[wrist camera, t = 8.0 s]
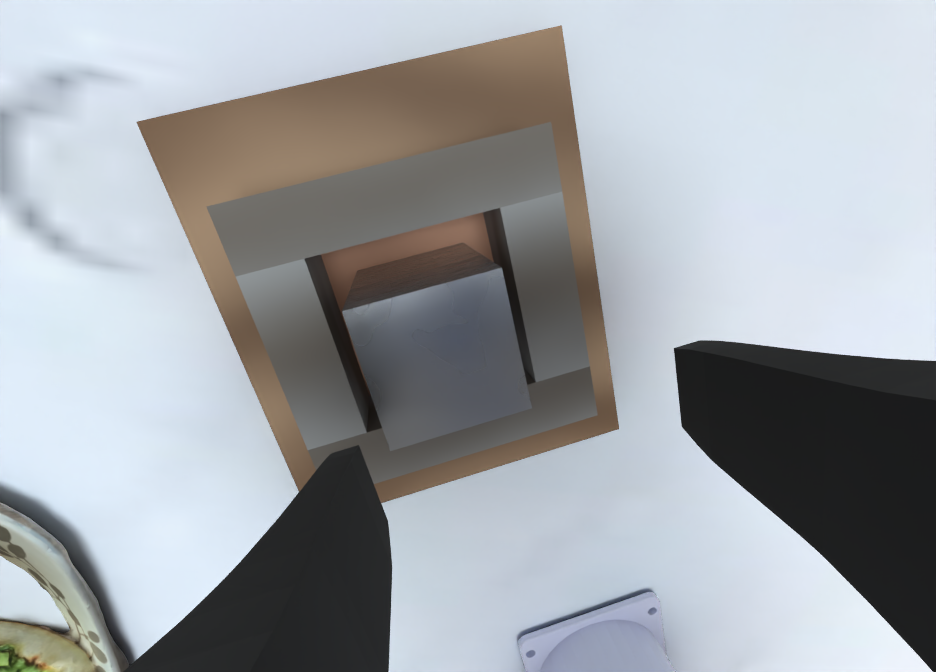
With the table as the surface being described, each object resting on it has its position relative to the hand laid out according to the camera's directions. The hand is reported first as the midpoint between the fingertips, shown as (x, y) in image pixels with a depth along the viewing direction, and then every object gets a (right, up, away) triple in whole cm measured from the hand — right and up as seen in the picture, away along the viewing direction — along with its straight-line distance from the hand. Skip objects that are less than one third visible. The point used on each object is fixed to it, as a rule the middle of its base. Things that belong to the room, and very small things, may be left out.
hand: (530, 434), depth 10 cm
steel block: (-3, +3, +7) cm, 9 cm away
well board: (-3, +4, +8) cm, 10 cm away
